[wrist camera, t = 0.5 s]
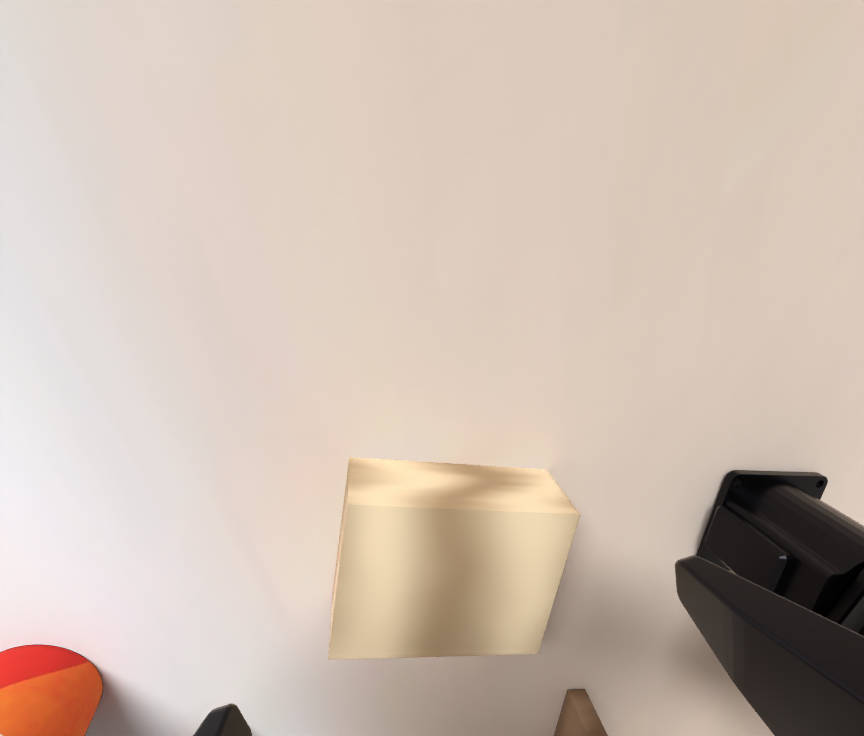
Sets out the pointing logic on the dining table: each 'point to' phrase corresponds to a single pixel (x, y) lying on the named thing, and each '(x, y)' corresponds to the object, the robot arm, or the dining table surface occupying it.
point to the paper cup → (47, 691)
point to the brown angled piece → (579, 716)
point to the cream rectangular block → (447, 559)
